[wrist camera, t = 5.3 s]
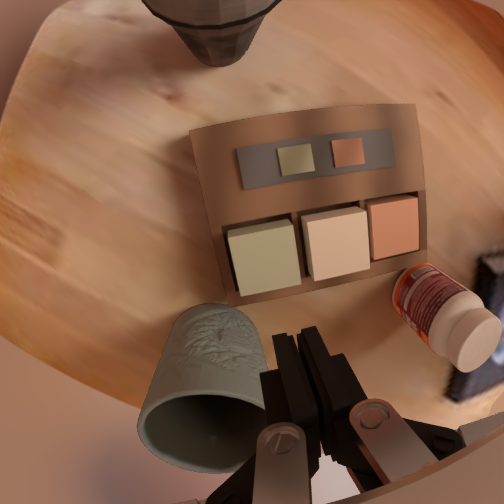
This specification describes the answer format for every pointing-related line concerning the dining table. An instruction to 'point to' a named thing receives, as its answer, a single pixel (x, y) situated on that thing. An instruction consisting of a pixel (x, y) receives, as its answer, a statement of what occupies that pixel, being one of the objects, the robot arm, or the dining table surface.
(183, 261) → the dining table surface
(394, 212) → the key terracotta
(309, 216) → the key cream
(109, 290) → the dining table surface
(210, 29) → the beverage cup
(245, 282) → the key sage
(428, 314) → the pill bottle
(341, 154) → the keypad board
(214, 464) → the grey green cup
